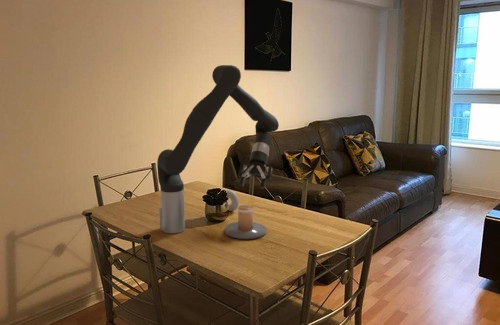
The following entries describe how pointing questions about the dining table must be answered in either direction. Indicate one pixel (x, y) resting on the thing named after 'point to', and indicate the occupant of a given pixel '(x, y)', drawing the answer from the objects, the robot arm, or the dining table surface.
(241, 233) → the dish
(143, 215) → the dining table surface
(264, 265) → the dining table surface
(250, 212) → the pink cylinder
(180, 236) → the dining table surface
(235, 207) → the donut
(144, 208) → the dining table surface
